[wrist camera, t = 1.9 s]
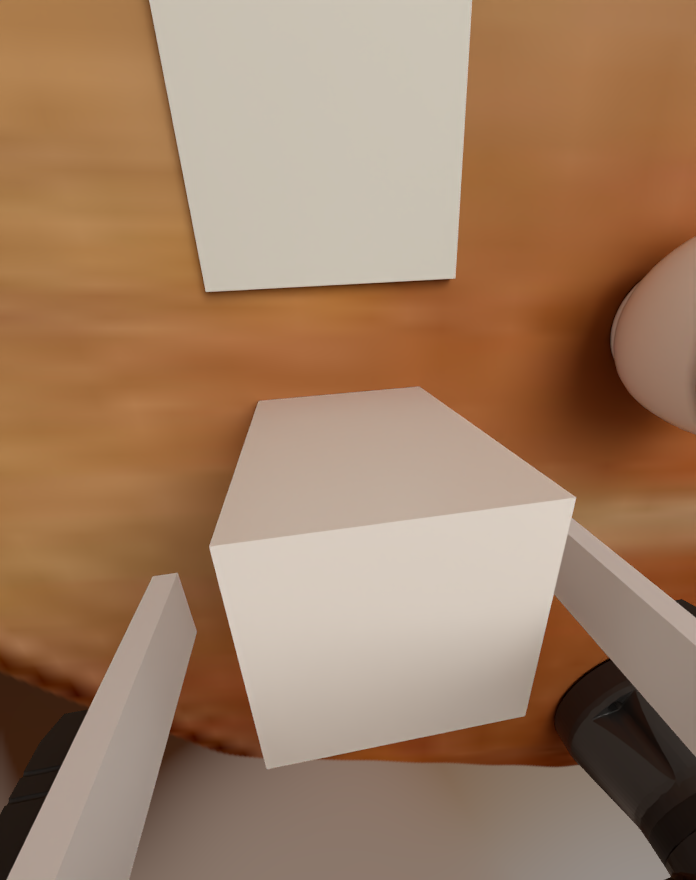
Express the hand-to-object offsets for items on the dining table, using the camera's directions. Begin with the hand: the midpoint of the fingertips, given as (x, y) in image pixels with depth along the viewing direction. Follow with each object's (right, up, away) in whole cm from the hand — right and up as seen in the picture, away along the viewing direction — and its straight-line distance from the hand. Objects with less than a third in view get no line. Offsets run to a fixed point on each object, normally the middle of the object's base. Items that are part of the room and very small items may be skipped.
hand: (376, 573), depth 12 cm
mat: (-2, +19, +2) cm, 19 cm away
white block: (-1, +3, +9) cm, 9 cm away
